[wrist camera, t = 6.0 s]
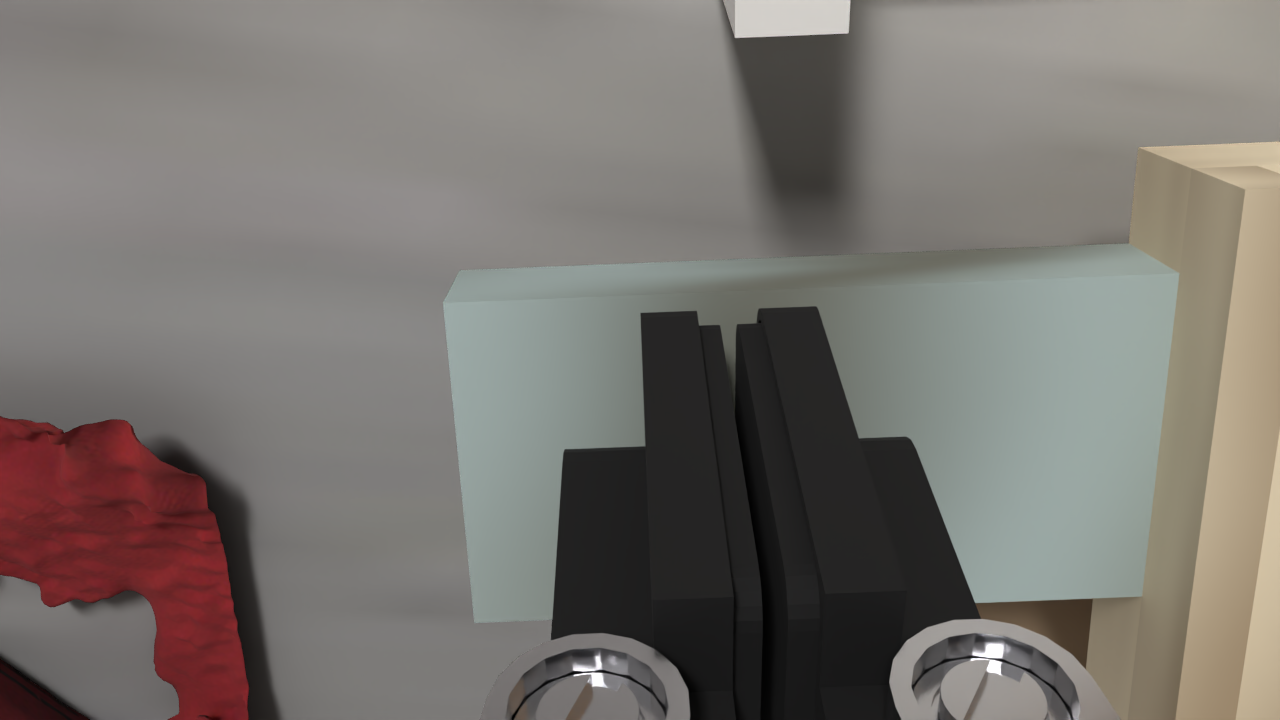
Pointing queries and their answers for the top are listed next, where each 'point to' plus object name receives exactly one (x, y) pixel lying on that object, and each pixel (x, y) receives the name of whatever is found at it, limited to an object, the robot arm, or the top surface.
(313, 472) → the top surface
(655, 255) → the top surface
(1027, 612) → the fulcrum
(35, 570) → the plate with food
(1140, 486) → the lever
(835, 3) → the dish
